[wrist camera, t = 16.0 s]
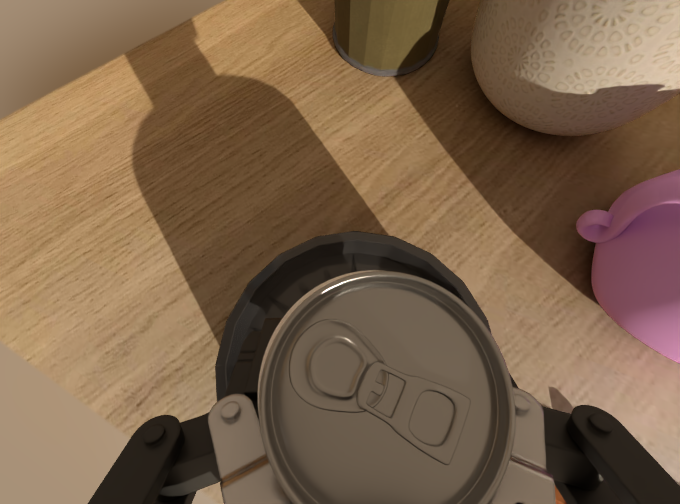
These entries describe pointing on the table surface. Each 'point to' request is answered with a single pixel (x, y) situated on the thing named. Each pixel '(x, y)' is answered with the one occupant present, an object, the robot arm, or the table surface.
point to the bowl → (316, 268)
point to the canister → (387, 33)
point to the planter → (577, 61)
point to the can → (385, 396)
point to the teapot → (640, 261)
